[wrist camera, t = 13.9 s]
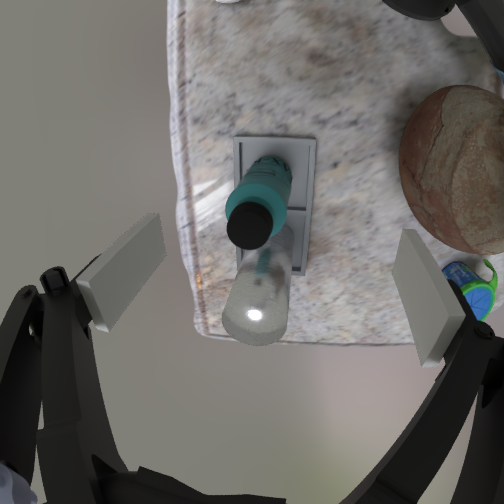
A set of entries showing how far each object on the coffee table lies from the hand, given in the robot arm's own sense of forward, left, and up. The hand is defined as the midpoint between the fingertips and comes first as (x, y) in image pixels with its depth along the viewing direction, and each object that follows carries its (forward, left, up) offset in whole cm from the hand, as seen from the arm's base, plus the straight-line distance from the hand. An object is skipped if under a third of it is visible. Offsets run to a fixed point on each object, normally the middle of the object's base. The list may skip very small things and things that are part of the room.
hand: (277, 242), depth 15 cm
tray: (+2, +9, -30) cm, 32 cm away
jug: (-24, -3, -30) cm, 39 cm away
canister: (+2, +15, -29) cm, 33 cm away
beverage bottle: (+3, +4, -29) cm, 30 cm away
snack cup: (-34, +20, -30) cm, 49 cm away
